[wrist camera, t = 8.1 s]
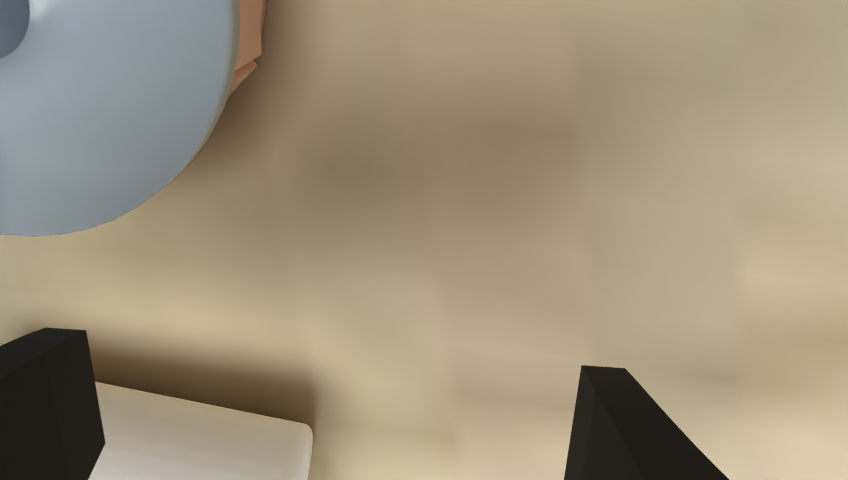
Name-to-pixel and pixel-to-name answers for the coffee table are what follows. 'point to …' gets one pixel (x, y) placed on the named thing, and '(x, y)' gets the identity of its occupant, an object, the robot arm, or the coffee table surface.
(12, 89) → the lid
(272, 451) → the mug
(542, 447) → the coffee table surface
